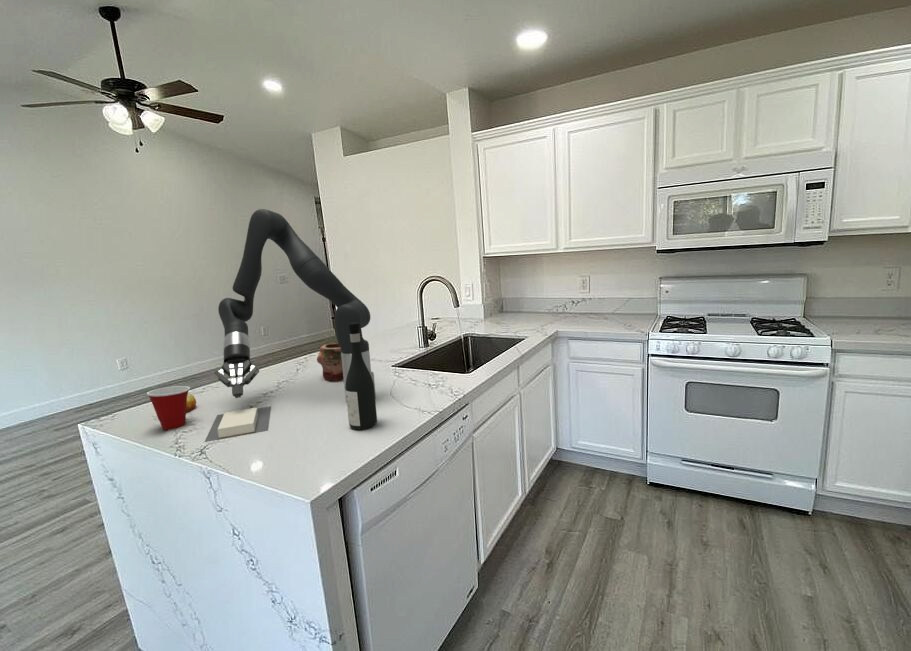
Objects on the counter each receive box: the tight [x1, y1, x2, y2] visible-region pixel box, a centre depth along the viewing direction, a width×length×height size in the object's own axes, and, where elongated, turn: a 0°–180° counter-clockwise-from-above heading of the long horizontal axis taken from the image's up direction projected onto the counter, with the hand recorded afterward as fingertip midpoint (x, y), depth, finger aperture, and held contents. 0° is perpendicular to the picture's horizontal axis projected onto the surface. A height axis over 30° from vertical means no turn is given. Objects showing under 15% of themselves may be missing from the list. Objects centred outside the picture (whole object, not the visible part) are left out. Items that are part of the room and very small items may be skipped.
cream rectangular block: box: [218, 407, 258, 439], centre depth 125 cm, size 3×9×14 cm
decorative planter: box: [316, 342, 344, 383], centre depth 170 cm, size 20×12×14 cm, turn 71°
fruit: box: [186, 392, 197, 414], centre depth 141 cm, size 11×10×8 cm
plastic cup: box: [146, 385, 191, 432], centre depth 128 cm, size 11×11×12 cm
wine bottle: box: [344, 322, 378, 431], centre depth 120 cm, size 8×8×30 cm
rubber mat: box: [204, 405, 272, 443], centre depth 128 cm, size 22×16×1 cm
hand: (237, 396), depth 128 cm, fingers closed
